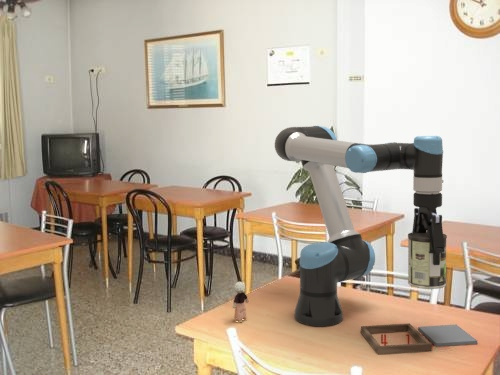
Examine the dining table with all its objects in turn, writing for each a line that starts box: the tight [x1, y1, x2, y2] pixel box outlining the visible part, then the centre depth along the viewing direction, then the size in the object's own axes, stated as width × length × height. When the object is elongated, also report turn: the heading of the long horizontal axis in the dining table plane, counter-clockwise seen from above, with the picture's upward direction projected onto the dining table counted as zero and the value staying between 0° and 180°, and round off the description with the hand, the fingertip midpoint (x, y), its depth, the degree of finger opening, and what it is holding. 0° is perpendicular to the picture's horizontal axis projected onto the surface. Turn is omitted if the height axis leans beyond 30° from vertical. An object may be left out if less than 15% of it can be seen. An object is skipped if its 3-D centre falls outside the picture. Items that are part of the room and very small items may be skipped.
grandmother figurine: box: [232, 281, 249, 323], centre depth 170 cm, size 8×4×13 cm, turn 156°
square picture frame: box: [360, 322, 433, 355], centre depth 153 cm, size 15×15×2 cm
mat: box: [417, 324, 478, 348], centre depth 156 cm, size 12×12×1 cm
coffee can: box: [407, 231, 448, 290], centre depth 151 cm, size 10×10×14 cm
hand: (426, 270), depth 151 cm, fingers closed on coffee can, 10 cm apart
